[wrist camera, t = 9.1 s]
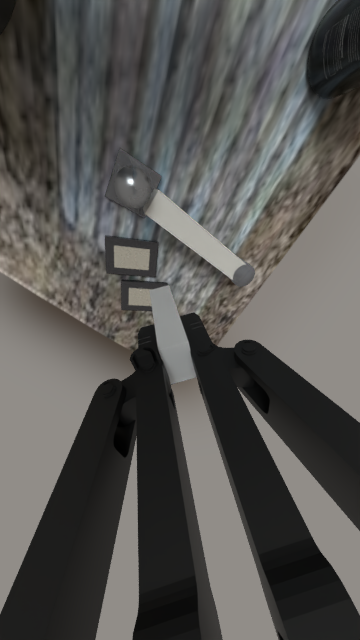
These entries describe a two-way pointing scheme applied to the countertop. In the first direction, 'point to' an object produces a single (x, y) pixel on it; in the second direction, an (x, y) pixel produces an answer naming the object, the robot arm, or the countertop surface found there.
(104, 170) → the countertop surface
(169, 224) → the swing bar
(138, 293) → the label plate
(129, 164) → the pivot post
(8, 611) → the robot arm
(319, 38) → the supplement bottle
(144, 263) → the label plate
